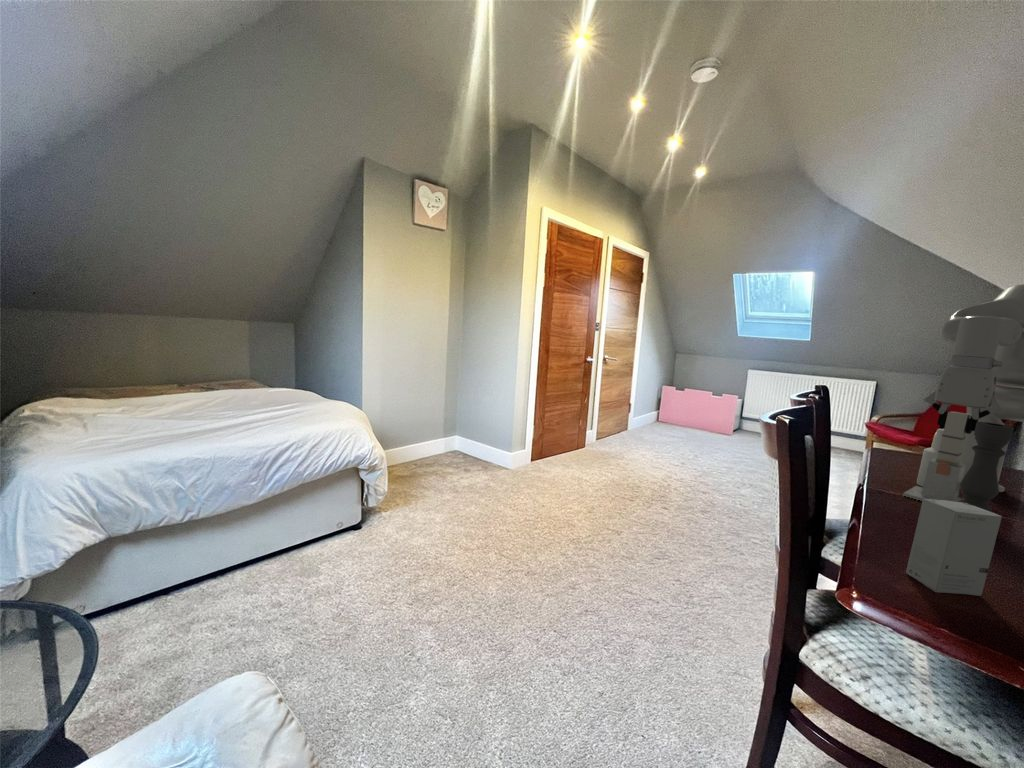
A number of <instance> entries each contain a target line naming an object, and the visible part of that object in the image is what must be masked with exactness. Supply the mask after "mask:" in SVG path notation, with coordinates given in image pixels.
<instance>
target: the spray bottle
mask: <svg viewBox="0 0 1024 768" xmlns="http://www.w3.org/2000/svg"><path fill="white" fill-rule="evenodd" d="M943 432H944V429H939V428H938V429H936V432H935V435H934V436H933V440H932V443H931V447H927V448H924V449H923V452H922V457H921V461H920V466H919V470H918V474H917V479H916V485H917V486H919V487H922V488H923V485H924V481H925V477H926V473H927V468H928V464H929V461H930V460H932V459H934V458H937V457H938V453H939V452H938V450H939V449H940V445H941V440H942V434H943Z"/></svg>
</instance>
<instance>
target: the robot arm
mask: <svg viewBox="0 0 1024 768" xmlns="http://www.w3.org/2000/svg"><path fill="white" fill-rule="evenodd" d="M941 337H942V338H943V340H944V341H945V342H947V343H949V344H954V345H953V347H954V348H953V351H952V355H951V360H950V363H949V364H950V365H949V366H946V367H945V369H943V372H942V374H941V377H940V379H939V382H938V385H937V388H936V390H935V391H934V392H932V393H930V395H928V396H927V397H926V398H924V401H925V402H926V403H928V404H929V405H930V406H932V407H933V408H934V410H936V411H937V413H938V414H939V415H938V418H937V419H938V420H937V424H936V425H937V426H939V428H938V429H944V428H945V423H946V419H947V415H948V412H949V411H948V410H949V409H950V407H951V406H952V405H955V406H961V407H966V414H971V415H970V419H968V423H967V427H966V432H965V433H966V435H965V437H966V438H965V439H964V443H963V447H962V452H961V453H962V454H961V456H960V460H959V461H960V462H959V464H964V465H966V466H965V470H964V474H963V478H964V476H965V475H966V473H967V472H968V470H969V469H970V467H971V466H972V463H973V459H974V455H975V452H974V450H973V449H972V447H973V446H976V445H977V442H976V440H975V435H974V432H975V428H976V423H977V422H988V423H996V424H1002V425H1006V424H1005V423H1004V422H1003V421H1002V420H1008V421H1015V422H1022V423H1024V284H1016V285H1012V286H1009V287H1007V288H1005V289H1004V290H1002V291H1001V292H1000V293H999V294H998V295H997V296H996V297H995V298H994V299H993V300H991V301H987V302H984V303H979V304H975V305H970V306H967V307H963V308H961V309H958V310H957V311H955V312H954V313H953V314H952V315H951V316H949V318H948V319H947V320H946V321H945V323H944V324H943V326H942V329H941ZM940 403H941V404H940ZM1009 442H1010V441H1008V444H1007V445H1005V446H1004V447H1003V448H1002V450H1003V451H1004V452H1005V453H1007V450H1008V446H1009ZM1005 457H1006V454H1005V455H1004V456H1001V457H1000V458H999V462H998V466H997V478H998V482H999V481H1000V476H1001V473H1002V469H1003V466H1004V462H1005ZM963 478H962V480H963ZM998 488H999V492H998V493H1003V492H1005V489H1006V488H1005V487H1004V486H1003V485H1001V484H999V483H998Z"/></svg>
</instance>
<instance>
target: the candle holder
mask: <svg viewBox="0 0 1024 768" xmlns="http://www.w3.org/2000/svg"><path fill="white" fill-rule="evenodd" d="M1014 428H1015V427H1014V426H1012V425H1011V426H1010V425H1007V424H1005V425H1002V424H996V423H988V422H977V423H976V428H975V432H974V435H975V440H976V442H977V445H976V446H973V447H972V449H973V450H974V452H975V455H974V459H973V463H972V466H971V467H970V469H969V470H968V472H967V473H966V475H965V476H964V478H963V480H962V481H961V483H960V490H961V492H962V493H963V494H962V496H963V497H961V498H962V499H961V500H959V501H957V502H961V503H968V504H970V505H973V506H976V507H979V508H981V509H984V510H987V511H990V512H992V513H993V508H991V506H990V505H989V503H990V502H991V500H993V499H994V498H996V497H997V496H998V495H999V493H1000V492H999V488H998V484H999V481H998V478H997V466H998V462H999V458H1000V457H1001V456H1004V455H1005V456H1006V453H1007V452H1006V453H1005V452H1004V451H1003V450H1002V448H1003V447H1004V446H1005V445H1007V444H1008V445H1009V443H1008V441H1009V442H1011V441H1012V440H1011V439H1012V436H1013V433H1014V430H1015V429H1014Z"/></svg>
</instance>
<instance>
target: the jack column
mask: <svg viewBox="0 0 1024 768" xmlns="http://www.w3.org/2000/svg"><path fill="white" fill-rule="evenodd" d="M947 412H948V413H947V414H948V415H947V419H946V423H945V428H944V432H943V434H942V440H941V445H940V449H939V450H938V452H939V453H938V457H937V459H936V461H937V462H939V461H940V460H941V461H945V462H949V463H950V465H952V466H956V467H957V466H958V464H959V462H960V461H959V460H960V456H961V454H962V453H961V452H962V447H963V443H964V439H965V438H966V437H965V435H966V433H965V432H966V427H967V423H968V419H970V415H971V414H967V412H965V413H964V412H959V411H947Z"/></svg>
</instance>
